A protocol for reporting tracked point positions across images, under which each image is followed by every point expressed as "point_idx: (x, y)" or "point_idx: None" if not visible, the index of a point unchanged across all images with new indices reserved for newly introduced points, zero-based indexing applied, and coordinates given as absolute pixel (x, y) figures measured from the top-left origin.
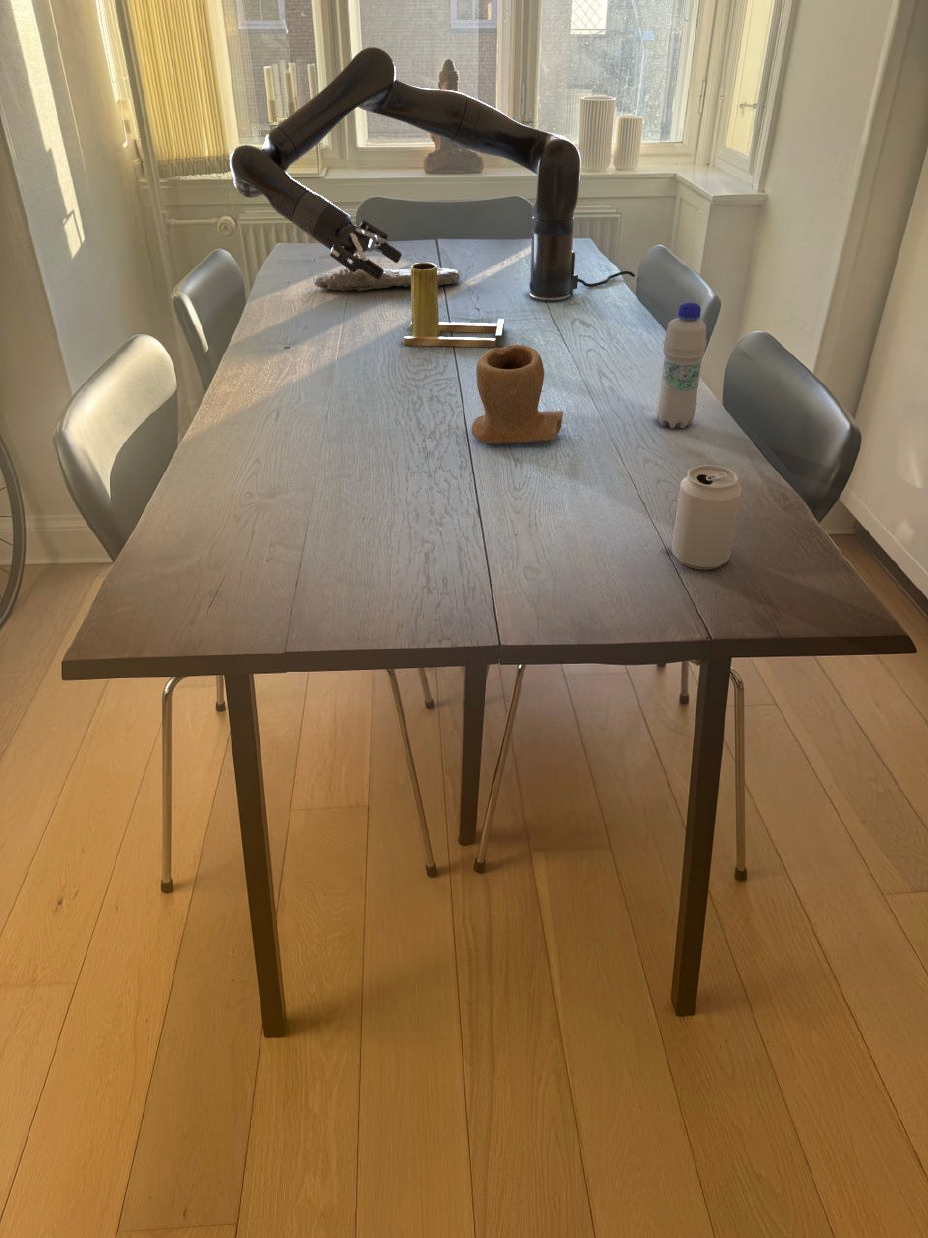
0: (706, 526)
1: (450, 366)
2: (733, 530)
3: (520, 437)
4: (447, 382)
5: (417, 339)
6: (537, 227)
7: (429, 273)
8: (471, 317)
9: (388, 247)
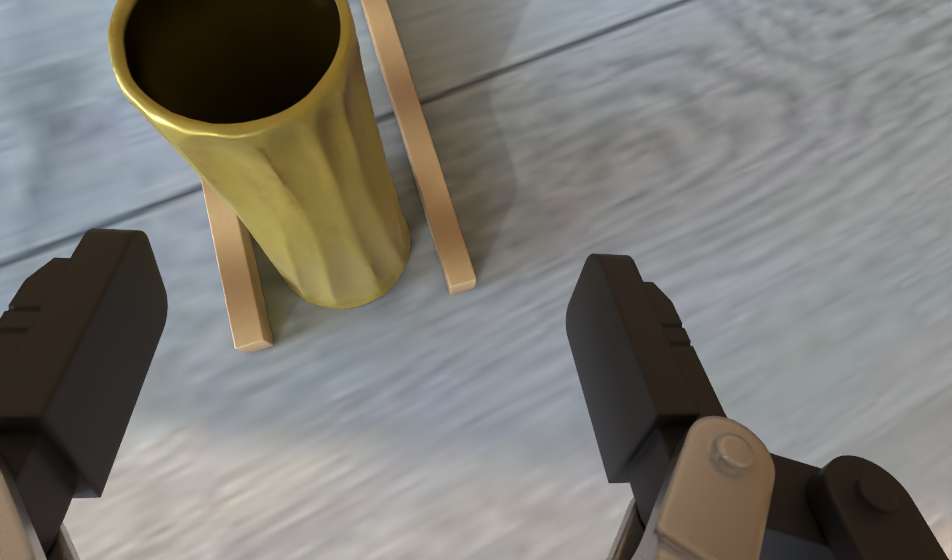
0: None
1: (620, 48)
2: None
3: None
4: (757, 11)
5: (459, 226)
6: None
7: None
8: (6, 161)
9: (75, 370)
